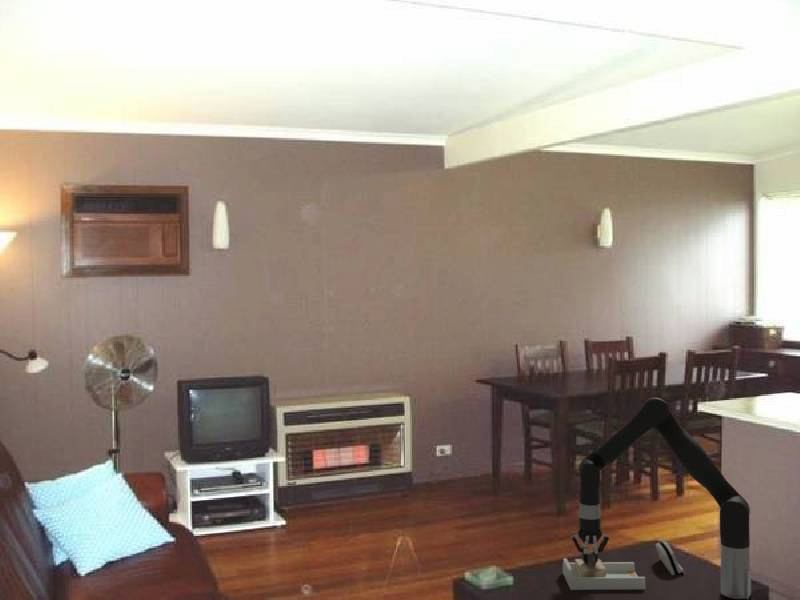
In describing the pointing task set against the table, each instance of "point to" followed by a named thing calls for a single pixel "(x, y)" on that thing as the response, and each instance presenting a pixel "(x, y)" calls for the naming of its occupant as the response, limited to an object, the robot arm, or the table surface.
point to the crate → (589, 567)
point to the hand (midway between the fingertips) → (590, 563)
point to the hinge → (668, 558)
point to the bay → (616, 577)
